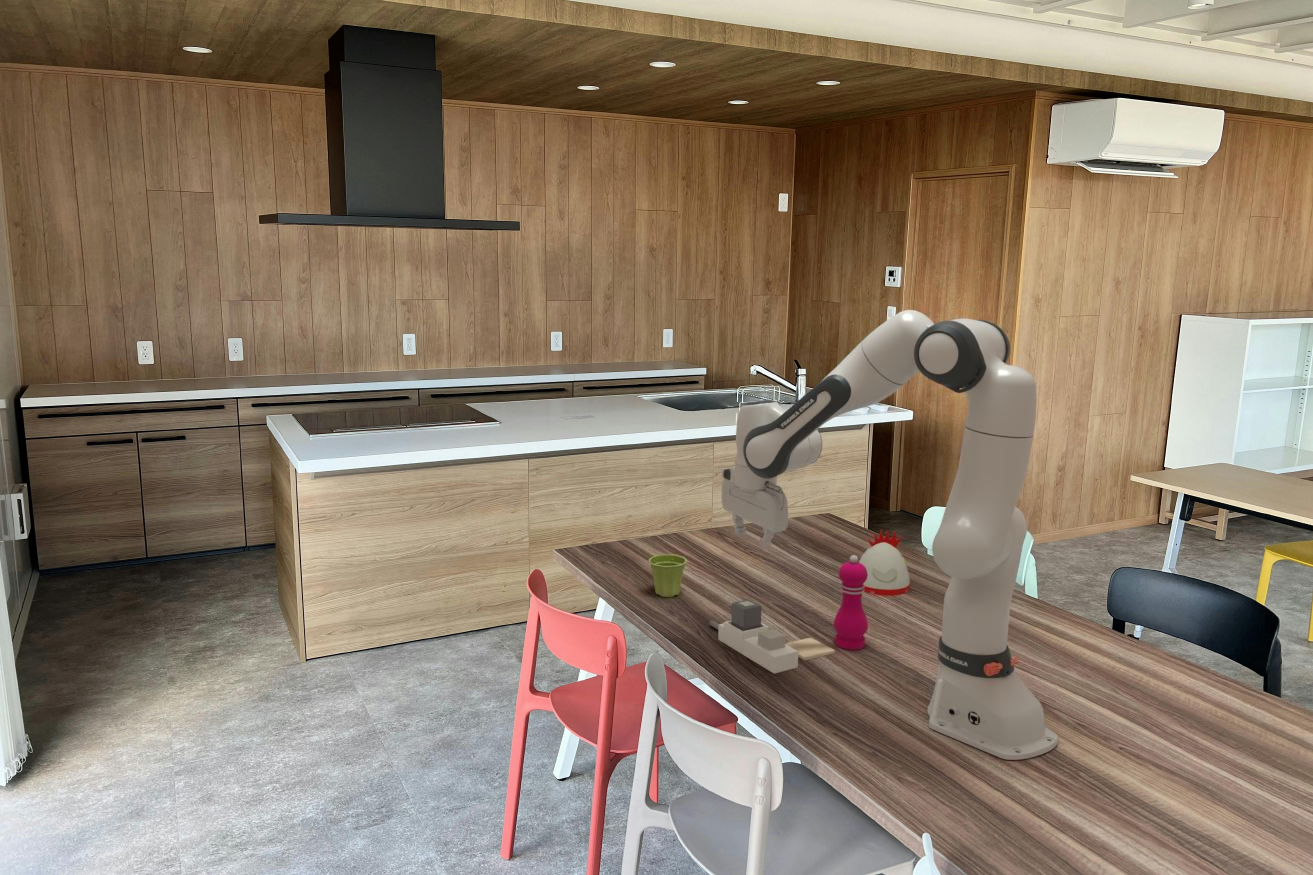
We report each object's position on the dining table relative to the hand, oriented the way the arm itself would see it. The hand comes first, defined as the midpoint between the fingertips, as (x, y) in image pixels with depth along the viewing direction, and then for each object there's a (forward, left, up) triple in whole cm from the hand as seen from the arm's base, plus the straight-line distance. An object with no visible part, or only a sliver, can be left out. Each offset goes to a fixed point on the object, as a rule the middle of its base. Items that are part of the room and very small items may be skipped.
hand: (752, 541), depth 193 cm
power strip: (0, +1, -23) cm, 23 cm away
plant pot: (+37, -2, -24) cm, 44 cm away
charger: (0, +1, -20) cm, 20 cm away
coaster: (-8, -10, -23) cm, 26 cm away
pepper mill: (-10, -20, -24) cm, 32 cm away
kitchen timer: (+15, -53, -24) cm, 60 cm away
